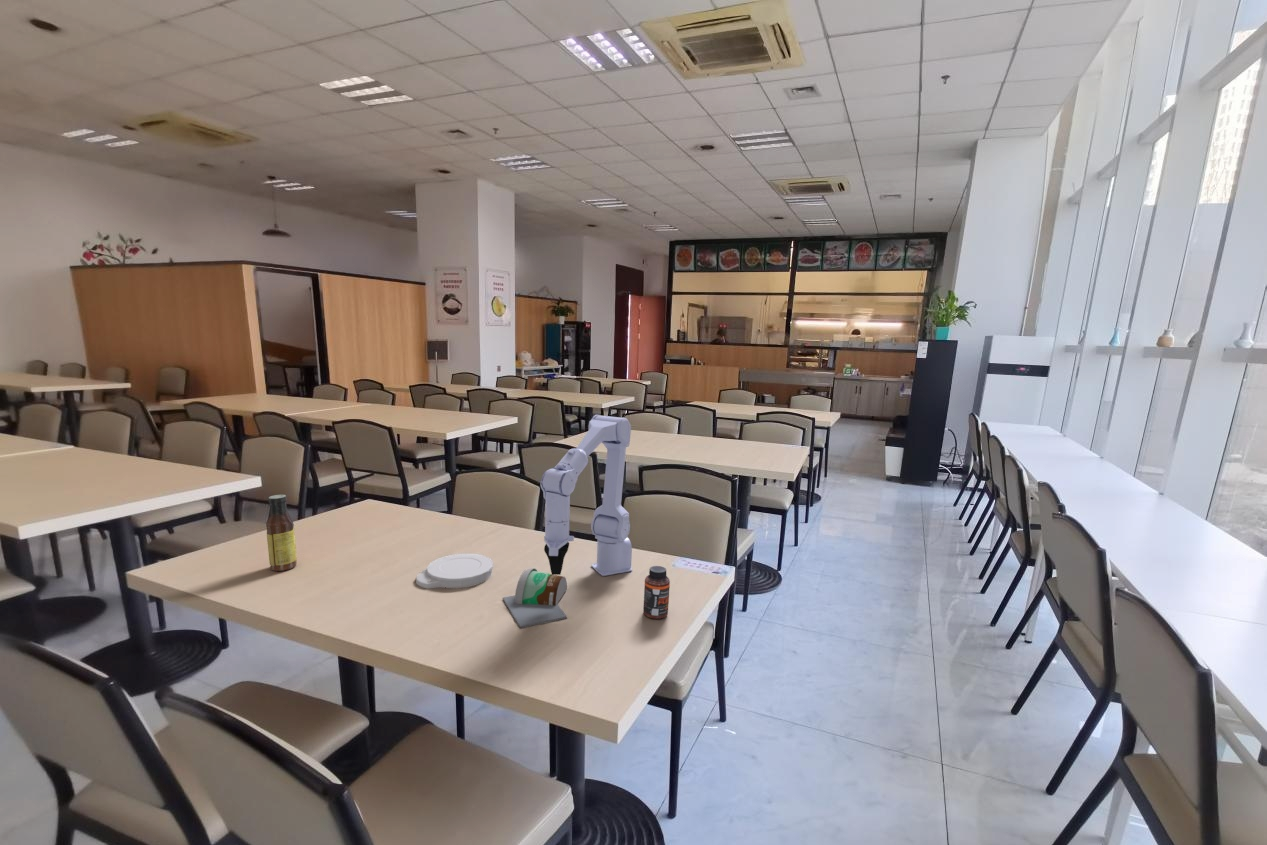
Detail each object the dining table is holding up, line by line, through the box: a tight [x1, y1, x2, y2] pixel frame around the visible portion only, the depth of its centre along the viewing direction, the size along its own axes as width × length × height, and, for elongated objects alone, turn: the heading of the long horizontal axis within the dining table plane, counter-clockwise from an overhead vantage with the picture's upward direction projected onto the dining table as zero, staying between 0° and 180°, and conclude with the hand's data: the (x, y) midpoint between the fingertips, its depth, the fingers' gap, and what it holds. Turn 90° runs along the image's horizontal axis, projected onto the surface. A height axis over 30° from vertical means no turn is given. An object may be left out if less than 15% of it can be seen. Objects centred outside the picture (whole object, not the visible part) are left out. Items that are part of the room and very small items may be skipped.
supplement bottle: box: [642, 565, 671, 620], centre depth 130 cm, size 6×6×11 cm
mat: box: [502, 594, 568, 629], centre depth 131 cm, size 11×15×1 cm
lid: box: [415, 552, 494, 590], centre depth 147 cm, size 17×20×3 cm
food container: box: [514, 567, 568, 606], centre depth 136 cm, size 12×6×10 cm
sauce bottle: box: [265, 494, 298, 572], centre depth 147 cm, size 6×6×20 cm
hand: (556, 573), depth 132 cm, fingers closed
